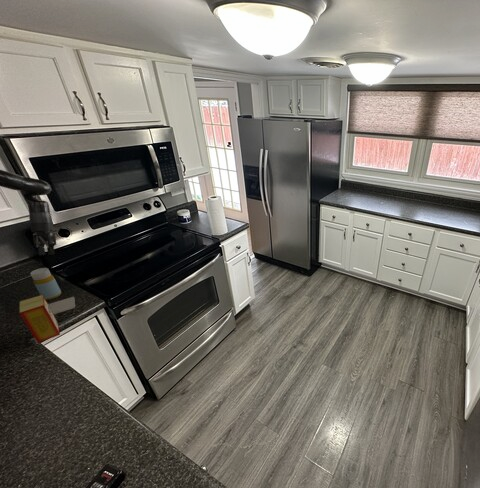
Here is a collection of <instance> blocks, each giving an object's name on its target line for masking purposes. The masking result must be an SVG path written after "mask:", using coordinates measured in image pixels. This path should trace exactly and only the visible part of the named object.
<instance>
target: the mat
mask: <svg viewBox="0 0 480 488" xmlns="http://www.w3.org/2000/svg"><path fill="white" fill-rule="evenodd" d="M48 305H49V307H50V309H51V311H52V313H53V315H54V316H55V315H57V314H60V313H64V312H67V311H70V310H74V309H76V299H75V296H71V297H68V298H64V299H61V300H58V301H54V302H51V303H48Z"/></svg>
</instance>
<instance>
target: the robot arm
mask: <svg viewBox="0 0 480 488" xmlns="http://www.w3.org/2000/svg"><path fill="white" fill-rule="evenodd" d="M0 187H2V188H5V189H8V190H13V191H20V193H21V195H22V197H23V199H24V201H25V202H26V204H27V208H28V219H29V224H30V231H31V232H32V233H36V234H33V235H32V240H33V246H34V247H36V248H37V252H38V256H45V255H46V250H47V255H48V256H51V255H52V256H53V255H55V246H57V240H56V235H55V232H54V231H55V229H54V224H53V217H52V214H51V208H50V203H49V202H48V201H47V200H41V199H40V200H38V199H36V198H35V196H36V195H39V196H46V195H49V194H50V193H51V192H52V187H51V185H50V184H49V183H48V182H47V181H44V180H42V179H38V178H33V177H28V176H22V175H19V174H16V173H14V172H10V171H7V170H4V169H0ZM45 246H46V248H45Z"/></svg>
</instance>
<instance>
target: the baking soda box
mask: <svg viewBox="0 0 480 488" xmlns="http://www.w3.org/2000/svg"><path fill="white" fill-rule="evenodd" d="M48 304H49V303H48V302H47V300H45V298H44V296H43V294H42V295H40V294H39V295H35V296H32V297H29V298H26V299H22V300H20V301H19V314H20V316H21V318H22V320H23V321H24V323H25V324H26V326H27V327H28V329H29V331H30V332H31V334H32V336H33V337H34V340H36V342H37V344H40V343H43V342H45V341H48V340H50V339H53V338H55V337H57V336H61V331H60V326H59V322H58V320H57V319H56V317H55V315H53V313H52V311H51V309H50V307H49V305H48Z"/></svg>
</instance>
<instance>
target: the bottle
mask: <svg viewBox="0 0 480 488" xmlns="http://www.w3.org/2000/svg"><path fill="white" fill-rule="evenodd" d="M30 276H31V278H32V280H33V285H34V286H35V288H36V289H37V291H38V294H39V295H42V294H43V296H44V298H45V300H46V301H51V300H55V299H57V298H59V297H60V296H61V295H62V290H61V288H60V286H59V284H58V283H57V280H56V279H55V277H54V275H53V274H52V273H51V271H50V270H49V268H47V267H41V268H37V269H34V270H32V271H31V272H30Z"/></svg>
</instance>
